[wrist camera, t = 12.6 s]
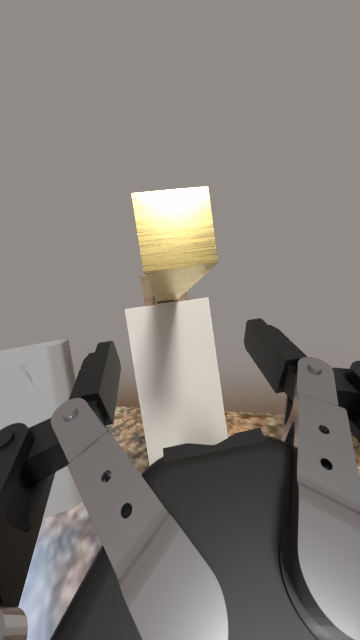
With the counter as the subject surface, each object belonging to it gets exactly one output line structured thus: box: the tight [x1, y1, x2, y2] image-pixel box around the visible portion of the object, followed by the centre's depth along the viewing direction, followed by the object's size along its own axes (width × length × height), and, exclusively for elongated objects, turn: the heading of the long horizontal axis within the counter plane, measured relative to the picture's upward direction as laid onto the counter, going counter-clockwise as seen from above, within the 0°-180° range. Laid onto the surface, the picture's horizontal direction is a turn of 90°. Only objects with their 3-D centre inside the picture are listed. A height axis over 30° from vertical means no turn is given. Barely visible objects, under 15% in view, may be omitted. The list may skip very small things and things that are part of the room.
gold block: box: [131, 187, 218, 304], centre depth 19 cm, size 24×3×3 cm, turn 6°
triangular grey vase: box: [0, 339, 82, 518], centre depth 37 cm, size 19×15×28 cm
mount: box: [125, 276, 228, 466], centre depth 36 cm, size 20×16×37 cm
